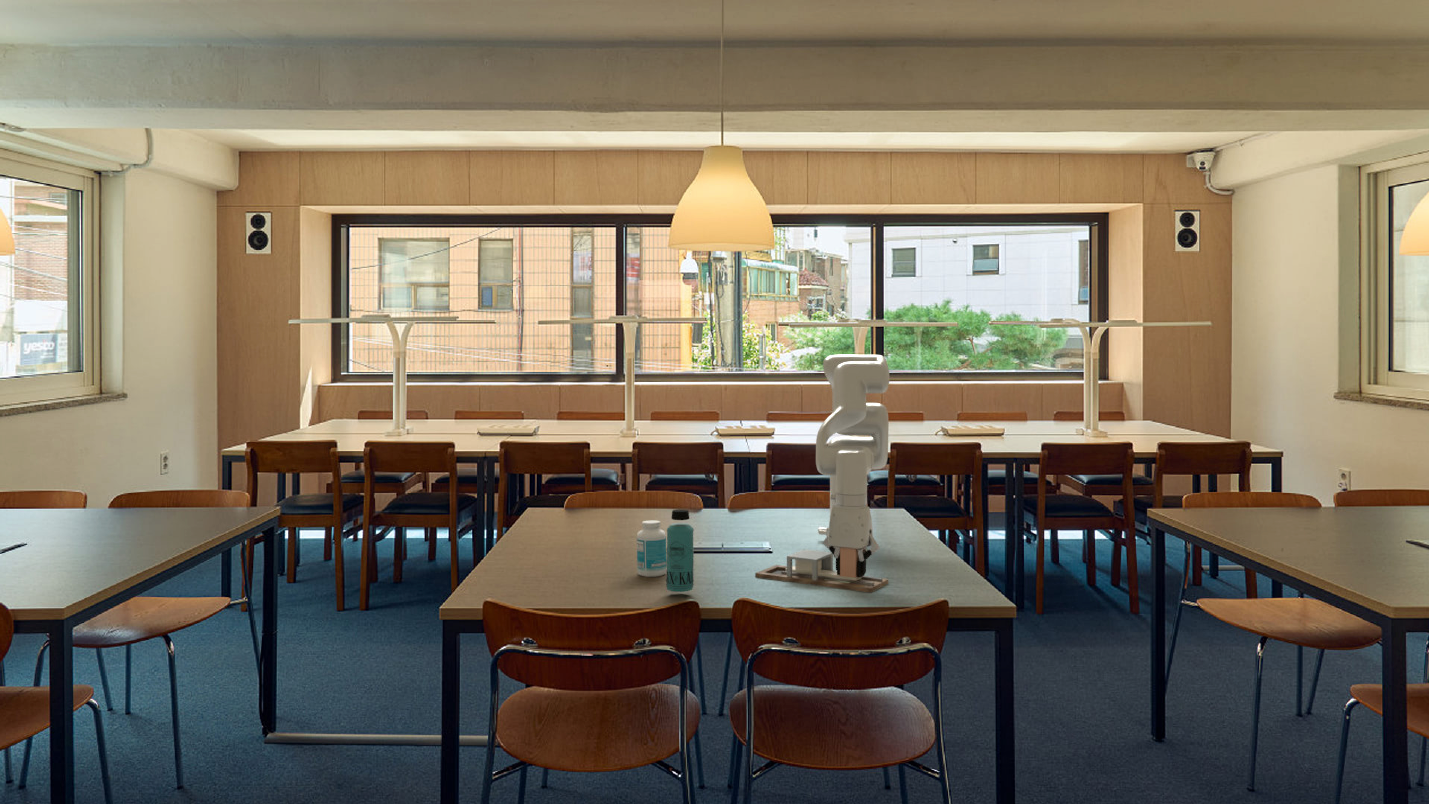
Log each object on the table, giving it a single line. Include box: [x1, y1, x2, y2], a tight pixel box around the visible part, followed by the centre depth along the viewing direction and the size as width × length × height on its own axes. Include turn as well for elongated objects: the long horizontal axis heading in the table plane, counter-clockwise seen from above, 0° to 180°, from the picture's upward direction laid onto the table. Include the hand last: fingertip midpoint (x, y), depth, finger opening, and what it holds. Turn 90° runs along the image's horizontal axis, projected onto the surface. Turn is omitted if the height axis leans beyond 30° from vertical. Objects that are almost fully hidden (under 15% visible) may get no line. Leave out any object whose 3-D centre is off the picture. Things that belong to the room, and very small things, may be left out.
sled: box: [785, 548, 862, 581], centre depth 242 cm, size 19×5×8 cm, turn 58°
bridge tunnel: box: [786, 549, 834, 580], centre depth 244 cm, size 8×10×5 cm
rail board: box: [754, 564, 889, 594], centre depth 243 cm, size 31×11×2 cm, turn 58°
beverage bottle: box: [665, 508, 695, 593], centre depth 227 cm, size 6×7×20 cm
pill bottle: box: [636, 519, 667, 578], centre depth 249 cm, size 8×7×14 cm
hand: (850, 574), depth 238 cm, fingers open, 4 cm apart
